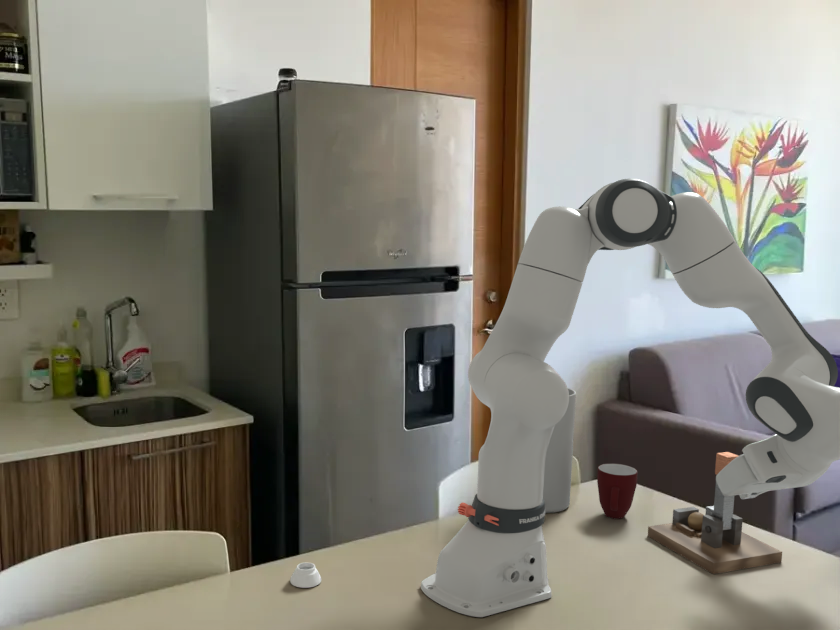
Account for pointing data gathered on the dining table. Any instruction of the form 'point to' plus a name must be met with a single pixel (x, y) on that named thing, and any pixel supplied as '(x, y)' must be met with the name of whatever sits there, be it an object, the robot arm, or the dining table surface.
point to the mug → (616, 489)
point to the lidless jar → (305, 575)
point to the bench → (712, 555)
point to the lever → (721, 502)
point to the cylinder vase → (560, 461)
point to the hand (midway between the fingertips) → (745, 494)
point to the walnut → (695, 521)
